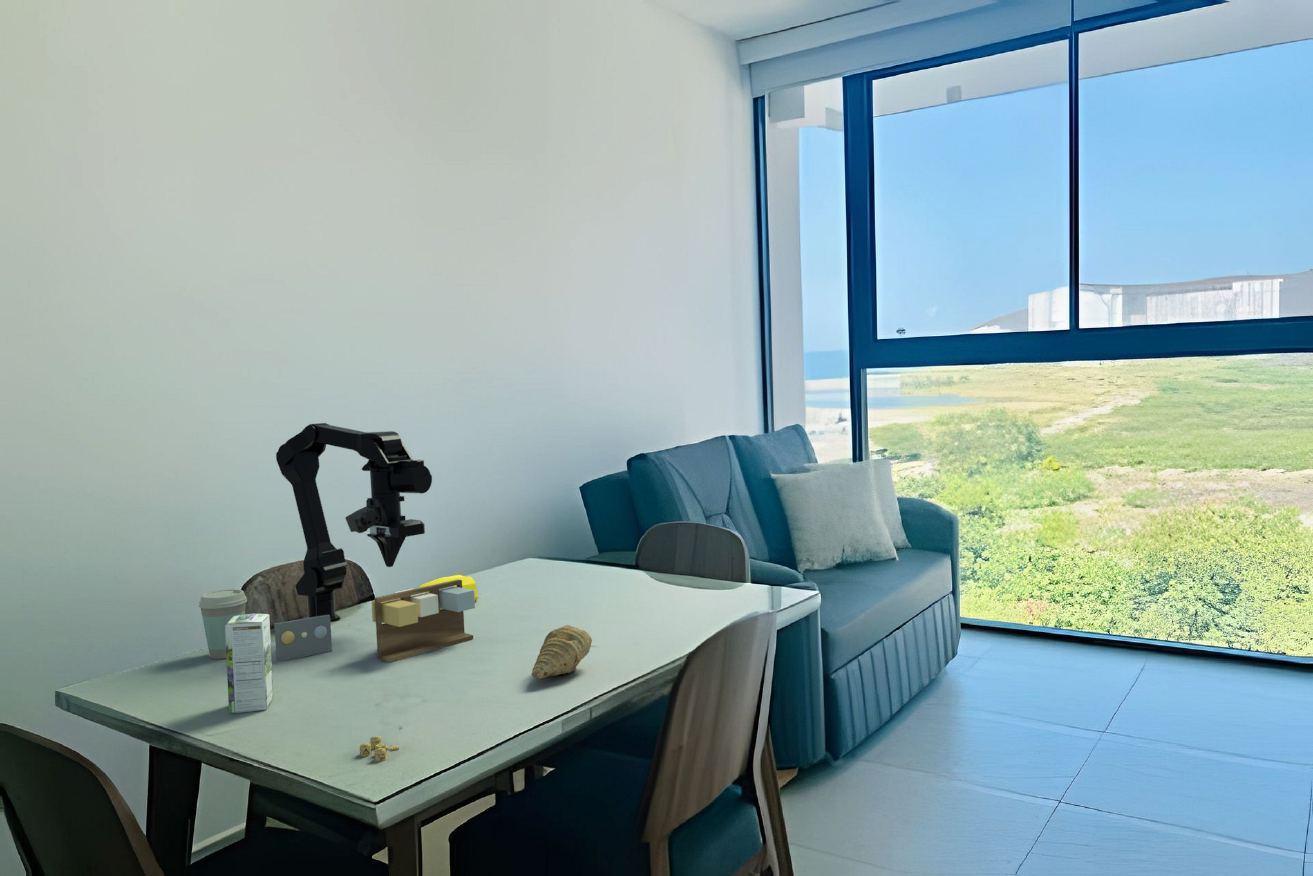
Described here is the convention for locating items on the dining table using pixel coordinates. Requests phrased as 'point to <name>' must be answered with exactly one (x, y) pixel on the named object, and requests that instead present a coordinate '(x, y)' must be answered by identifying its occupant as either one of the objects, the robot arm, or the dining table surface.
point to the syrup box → (249, 663)
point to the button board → (419, 627)
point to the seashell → (561, 652)
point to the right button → (456, 599)
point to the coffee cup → (220, 617)
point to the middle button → (424, 603)
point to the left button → (397, 612)
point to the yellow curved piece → (466, 583)
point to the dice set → (376, 748)
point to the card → (303, 637)
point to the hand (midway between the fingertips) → (389, 566)
